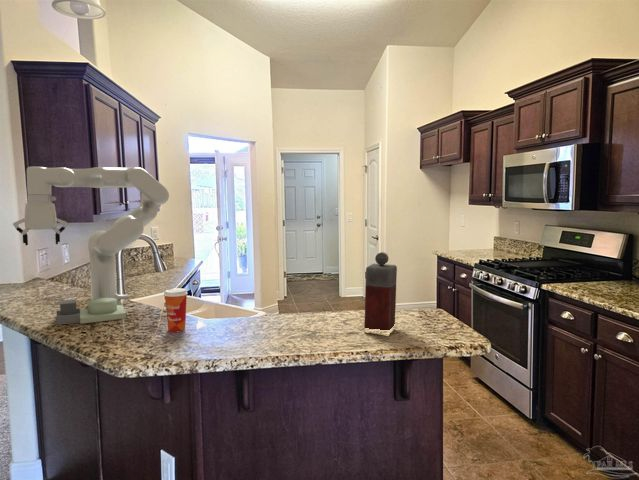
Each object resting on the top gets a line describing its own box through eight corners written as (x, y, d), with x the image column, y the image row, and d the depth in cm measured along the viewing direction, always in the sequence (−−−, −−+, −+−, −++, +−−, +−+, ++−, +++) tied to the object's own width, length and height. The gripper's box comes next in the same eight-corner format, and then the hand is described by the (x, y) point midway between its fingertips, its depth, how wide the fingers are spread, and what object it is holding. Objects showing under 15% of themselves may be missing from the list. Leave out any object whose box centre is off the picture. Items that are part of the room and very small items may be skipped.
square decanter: (396, 327, 151) (398, 251, 148) (389, 336, 140) (392, 254, 138) (372, 324, 154) (374, 249, 151) (363, 333, 144) (366, 253, 141)
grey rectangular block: (76, 317, 157) (76, 299, 157) (76, 321, 152) (76, 302, 152) (61, 319, 155) (60, 300, 154) (60, 323, 150) (60, 304, 149)
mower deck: (122, 309, 169) (122, 295, 168) (125, 318, 157) (125, 302, 156) (57, 316, 158) (56, 301, 157) (55, 326, 145) (54, 309, 145)
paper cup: (159, 330, 142) (159, 291, 141) (177, 325, 149) (176, 287, 148) (176, 334, 139) (175, 293, 138) (193, 328, 146) (192, 289, 144)
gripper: (66, 200, 165) (68, 242, 166) (12, 199, 155) (14, 244, 157) (67, 200, 158) (68, 244, 160) (10, 199, 149) (13, 246, 151)
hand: (42, 244), depth 158 cm, fingers open, 9 cm apart
